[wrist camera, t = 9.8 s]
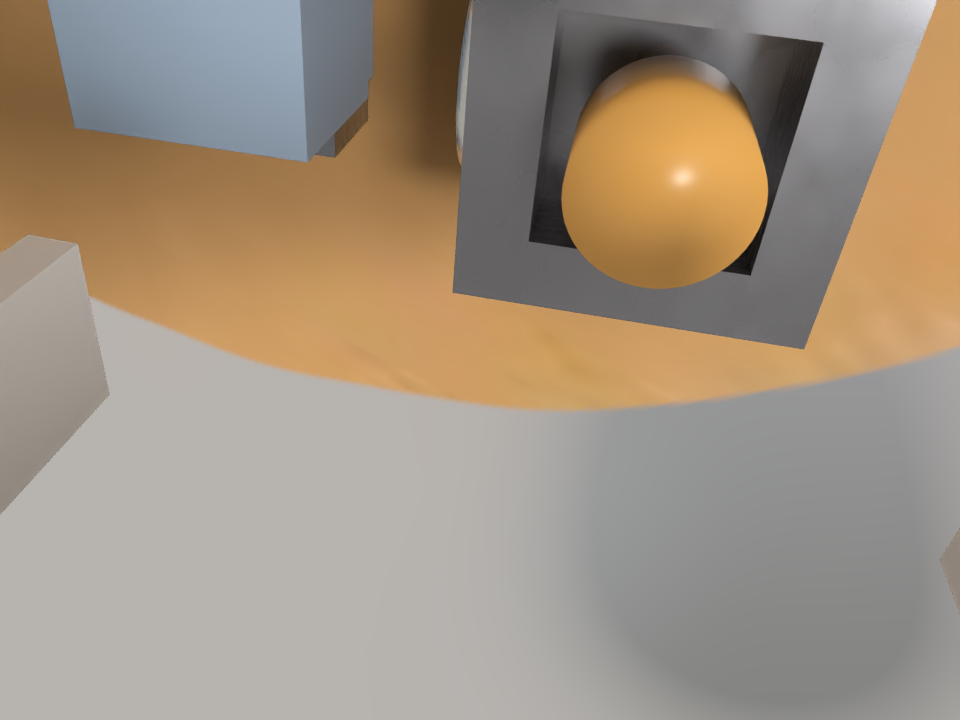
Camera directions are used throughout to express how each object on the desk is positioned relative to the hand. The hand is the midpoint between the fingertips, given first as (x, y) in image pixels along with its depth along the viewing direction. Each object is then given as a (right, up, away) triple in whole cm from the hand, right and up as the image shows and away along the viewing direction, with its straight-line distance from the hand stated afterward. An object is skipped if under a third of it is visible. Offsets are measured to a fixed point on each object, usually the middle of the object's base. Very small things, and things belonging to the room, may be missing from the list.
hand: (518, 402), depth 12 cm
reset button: (+4, +6, +9) cm, 12 cm away
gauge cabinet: (+6, +11, +17) cm, 21 cm away
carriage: (-7, +14, +17) cm, 23 cm away
